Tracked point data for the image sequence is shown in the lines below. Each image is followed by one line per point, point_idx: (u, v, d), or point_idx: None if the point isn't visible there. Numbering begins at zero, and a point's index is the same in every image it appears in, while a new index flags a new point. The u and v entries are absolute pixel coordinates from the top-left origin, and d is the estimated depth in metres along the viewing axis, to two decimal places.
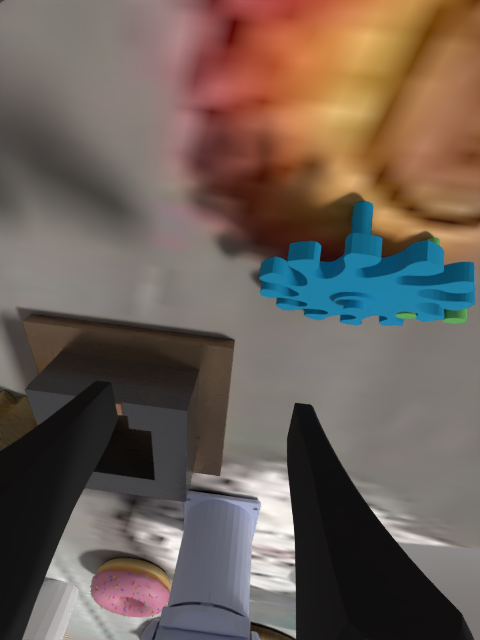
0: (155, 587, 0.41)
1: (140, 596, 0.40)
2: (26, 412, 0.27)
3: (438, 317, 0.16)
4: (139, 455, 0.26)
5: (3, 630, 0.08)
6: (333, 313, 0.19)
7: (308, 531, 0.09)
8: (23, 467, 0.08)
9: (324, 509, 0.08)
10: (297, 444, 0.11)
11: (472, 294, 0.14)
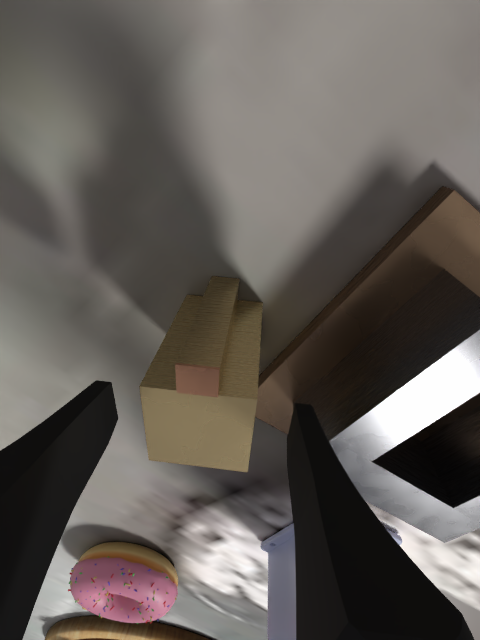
0: (171, 593, 0.31)
1: (153, 602, 0.30)
2: None
3: None
4: (412, 459, 0.17)
5: (3, 630, 0.08)
6: None
7: (308, 531, 0.09)
8: (23, 467, 0.08)
9: (324, 509, 0.08)
10: (297, 444, 0.11)
11: None
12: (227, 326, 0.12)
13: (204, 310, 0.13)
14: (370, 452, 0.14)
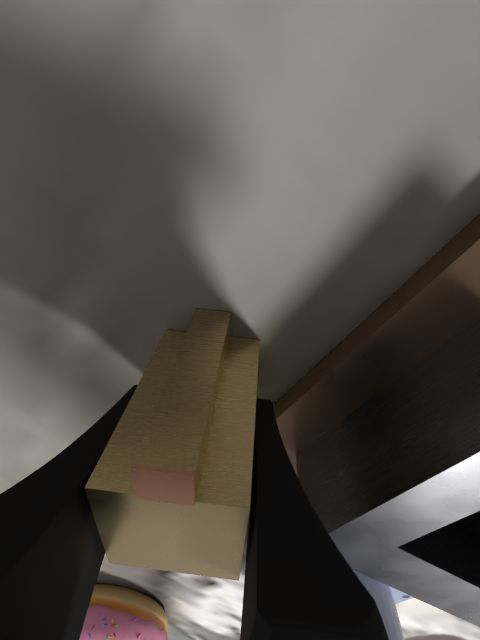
0: None
1: None
2: None
3: None
4: (442, 529, 0.14)
5: (63, 639, 0.08)
6: None
7: (252, 524, 0.09)
8: (80, 474, 0.08)
9: (262, 501, 0.08)
10: None
11: None
12: (211, 391, 0.09)
13: (182, 364, 0.10)
14: (396, 538, 0.11)
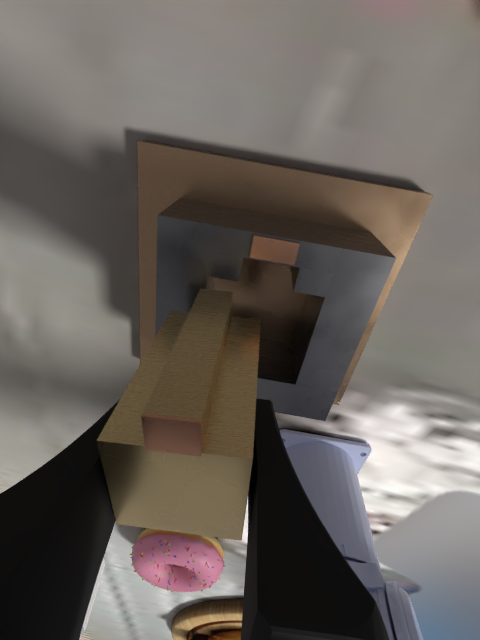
0: (211, 555, 0.35)
1: (195, 565, 0.34)
2: None
3: None
4: (263, 358, 0.19)
5: (63, 639, 0.08)
6: None
7: (252, 524, 0.09)
8: (80, 474, 0.08)
9: (262, 501, 0.08)
10: None
11: None
12: (215, 356, 0.09)
13: (187, 334, 0.10)
14: None
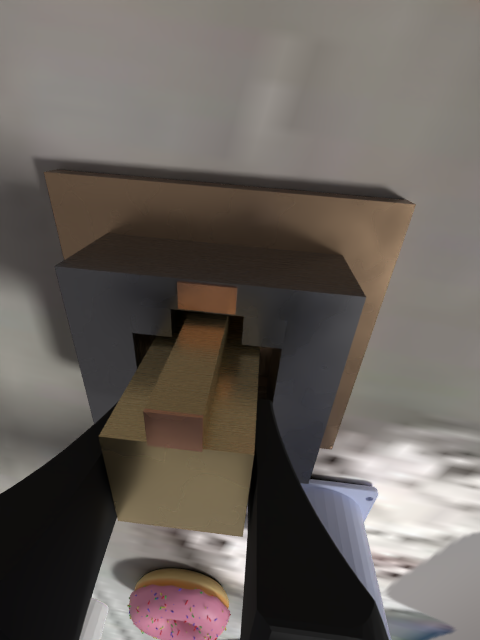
0: (213, 606, 0.32)
1: (195, 619, 0.31)
2: None
3: None
4: None
5: (63, 639, 0.08)
6: None
7: (252, 524, 0.09)
8: (80, 474, 0.08)
9: (262, 501, 0.08)
10: None
11: None
12: (216, 353, 0.09)
13: (188, 331, 0.10)
14: None
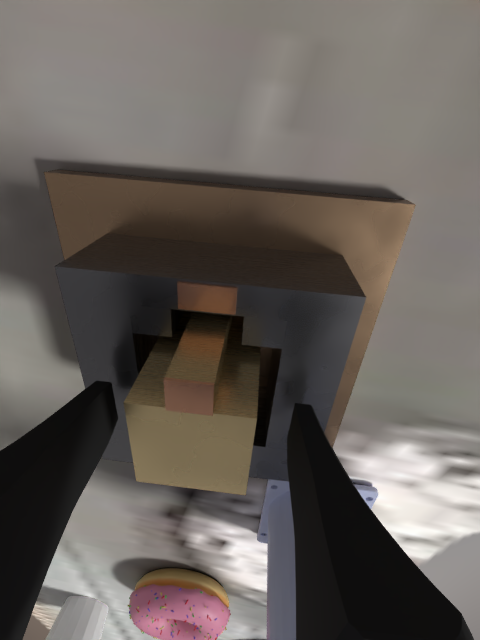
0: (213, 606, 0.32)
1: (196, 619, 0.31)
2: None
3: None
4: None
5: (3, 630, 0.08)
6: None
7: (308, 531, 0.09)
8: (23, 467, 0.08)
9: (324, 509, 0.08)
10: (297, 444, 0.11)
11: None
12: (223, 334, 0.11)
13: (198, 315, 0.12)
14: None
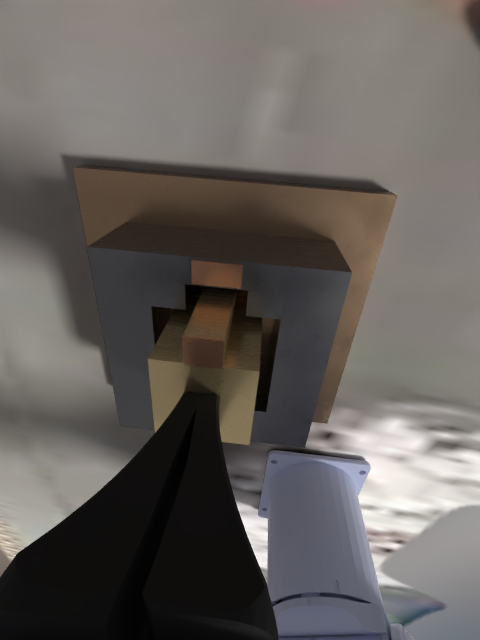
0: None
1: None
2: None
3: None
4: None
5: None
6: None
7: None
8: (156, 484, 0.08)
9: (183, 491, 0.08)
10: None
11: None
12: (231, 304, 0.13)
13: (208, 290, 0.14)
14: (149, 392, 0.16)
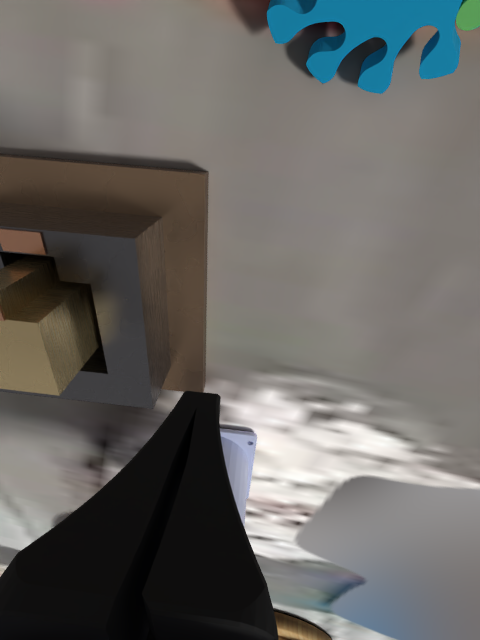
0: None
1: None
2: None
3: None
4: None
5: None
6: (354, 38, 0.12)
7: None
8: (156, 484, 0.08)
9: (183, 491, 0.08)
10: None
11: None
12: (35, 269, 0.14)
13: (27, 258, 0.15)
14: None
